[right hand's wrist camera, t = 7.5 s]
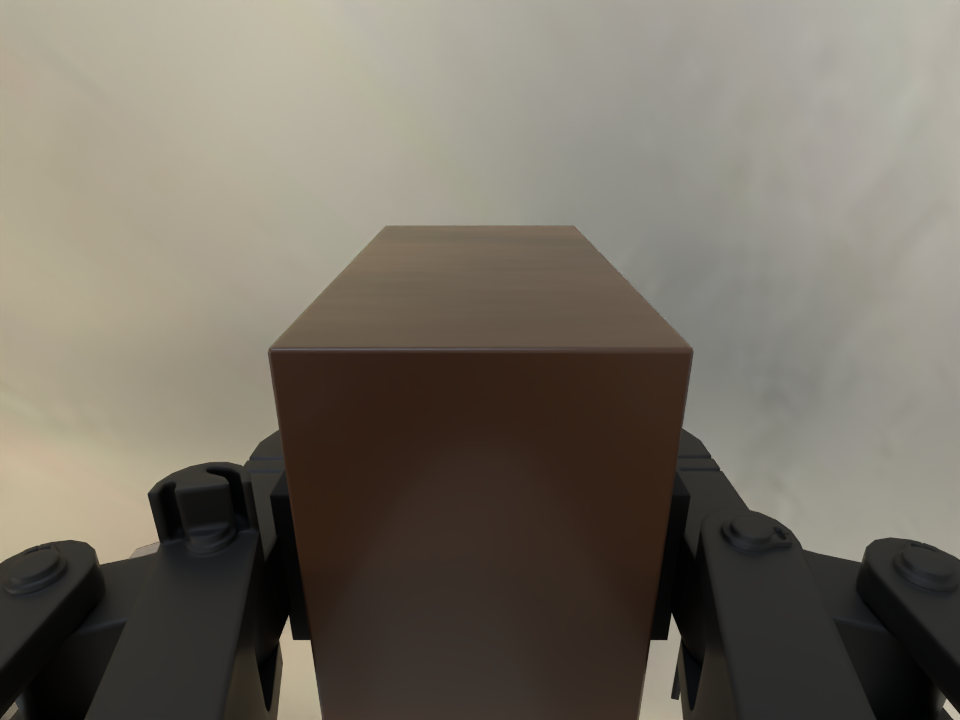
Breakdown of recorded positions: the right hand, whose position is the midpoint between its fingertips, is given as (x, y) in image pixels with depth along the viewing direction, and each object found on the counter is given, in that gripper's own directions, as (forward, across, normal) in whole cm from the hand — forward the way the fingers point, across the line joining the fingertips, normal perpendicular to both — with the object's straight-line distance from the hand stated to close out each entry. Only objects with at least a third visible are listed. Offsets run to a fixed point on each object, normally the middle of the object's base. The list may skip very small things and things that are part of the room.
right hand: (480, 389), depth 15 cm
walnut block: (0, 0, -9) cm, 9 cm away
